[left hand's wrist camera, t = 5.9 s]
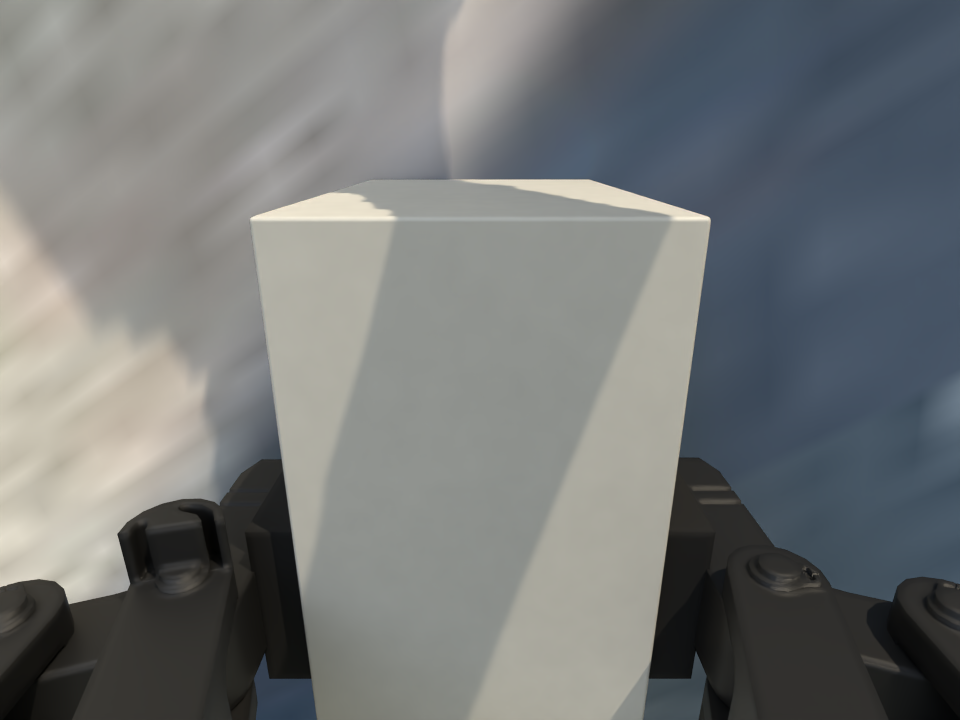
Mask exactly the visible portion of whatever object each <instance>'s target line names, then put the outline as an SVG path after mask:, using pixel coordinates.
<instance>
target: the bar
mask: <svg viewBox="0 0 960 720" xmlns="http://www.w3.org/2000/svg"><path fill="white" fill-rule="evenodd" d="M710 223H711V221H710V218H709V217H707V216H704V215H701V214H698V213H694V212H691V211H688V210H685V209H682V208H678V207H675V206H672V205H669V204H666V203H662V202H659V201H656V200H653V199H649V198H646V197H643V196H640V195H637V194H633V193H630V192H627V191H624V190H621V189H617V188H614V187H611V186H608V185H604V184H601V183H598V182H595V181H592V180H369V181H366V182H363V183H359V184H356V185H353V186H350V187H346V188H343V189H340V190H337V191H333V192H330V193H327V194H324V195H321V196H317V197H314V198H311V199H308V200H304V201H301V202H298V203H295V204H291V205H288V206H285V207H282V208H278V209H275V210H272V211H269V212H266V213H262V214H259V215H256V216H253V217H251V218H250V228H251V236H252V243H253V251H254V258H255V265H256V273H257V280H258V287H259V295H260V302H261V310H262V317H263V324H264V332H265V339H266V346H267V354H268V361H269V369H270V376H271V383H272V391H273V398H274V405H275V413H276V420H277V428H278V435H279V442H280V450H281V457H282V464H283V472H284V479H285V487H286V494H287V501H288V509H289V516H290V524H291V531H292V538H293V546H294V553H295V560H296V568H297V575H298V583H299V590H300V597H301V605H302V612H303V619H304V627H305V634H306V642H307V649H308V656H309V664H310V671H311V678H312V686H313V693H314V701H315V708H316V715H317V720H643V716H644V709H645V702H646V694H647V687H648V679H649V672H650V665H651V657H652V650H653V643H654V635H655V628H656V621H657V613H658V606H659V599H660V591H661V584H662V576H663V569H664V562H665V554H666V547H667V540H668V532H669V525H670V518H671V510H672V503H673V495H674V488H675V481H676V473H677V466H678V459H679V451H680V444H681V437H682V429H683V422H684V415H685V407H686V400H687V392H688V385H689V378H690V370H691V363H692V356H693V348H694V341H695V334H696V326H697V319H698V312H699V304H700V297H701V289H702V282H703V275H704V267H705V260H706V253H707V245H708V238H709V231H710Z"/></svg>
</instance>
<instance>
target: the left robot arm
mask: <svg viewBox="0 0 960 720" xmlns="http://www.w3.org/2000/svg"><path fill="white" fill-rule="evenodd" d="M118 538H119V542H120V546H121V550H122V553H123V557H124V561H125V565H126V569H127V573H128V576H129V580H130V586H129V589H128V591H125V592H121V593H118V594H114V595H110V596H105V597H101V598H96V599H91V600H87V601H82V602H78V603H73V604H68V601H67V597H66V594H65V591H64V589H63V588H62V587H61V586H60V585H59V584H57V583H56V582H54V581H48V580H41V579H37V580H30V581H22V582H17V583H14V584H9V585H7V586H3V587H0V720H256V711H257V695H256V688H255V683H254V677H255V674H256V672H257V670H258V667H259V665H260V663H261V660H262V658H263V656H264V653H265V655H266V661H267V667H268V673H269V679H312V678H311V671H310V664H309V656H308V649H307V642H306V634H305V627H304V619H303V612H302V605H301V597H300V590H299V583H298V575H297V568H296V560H295V553H294V546H293V538H292V531H291V524H290V516H289V509H288V501H287V494H286V487H285V479H284V472H283V464H282V460H260V461H259V462H258V463H256V464H255V465H253V466H252V467H250V468H249V469H247V470H246V471H244V472H243V473H241V475H240V476H239V477H238V479H237V480H236V482H235V483H234V484H233V486H232V487H231V488H230V492H229V493H227V494H226V495H225V497H224V498H223V499H222V501H221V502H220V506H219V505H217V504H216V503H215V502H212V501H208V500H204V499H181V500H177V501H172V502H168V503H164V504H161V505H158V506H156V507H153V508H151V509H149V510H146V511H144V512H142V513H140V514H139V515H137V516H136V517H134V518H133V519H131V520H130V521H128V522H127V523H126V524H125V526H124V527H123V528H122V529H121V530H120V532H119V533H118ZM695 652H697V654H698V656H699V659H700V661H701V663H702V666H703V668H704V670H705V673H706V675H707V677H706V683H705V688H704V694H703V699H702V705H701V710H700V716H699V720H960V584H955V583H954V582H950V581H946V580H943V579H935V578H927V577H917V578H911V579H906V580H905V581H903V582H902V583H901V584H900V585H898V586H897V589H896V593H895V596H894V599H893V602H890V601H885V600H881V599H876V598H871V597H867V596H862V595H858V594H853V593H848V592H845V591H841V590H837V589H834V588H832V587H831V585H830V583H829V582H828V580H827V579H826V577H825V576H824V575H823V573H822V572H821V570H819V569H818V568H817V567H815V566H814V565H813V564H811V563H810V562H809V561H808V560H806V559H805V558H802V557H800V556H798V555H796V554H794V553H792V552H790V551H788V550H784V549H780V548H776V547H774V545H773V544H772V543H771V541H770V540H769V538H768V537H767V536H766V534H765V533H764V532H763V530H762V529H761V528H760V526H759V525H758V523H757V522H756V521H755V519H754V518H753V517H752V515H751V514H750V513H749V511H748V510H747V508H746V507H745V506H744V504H741V500H740V499H739V498H738V496H737V495H736V493H735V492H734V491H731V487H730V485H729V484H728V483H727V481H726V480H725V478H724V477H723V476H722V474H721V473H720V472H719V471H718V470H716V469H715V468H713V467H712V466H710V465H709V464H708V463H706V462H705V461H703V460H702V459H700V458H679V459H678V466H677V473H676V481H675V488H674V495H673V503H672V510H671V518H670V525H669V532H668V540H667V547H666V554H665V562H664V569H663V576H662V584H661V591H660V599H659V606H658V613H657V621H656V628H655V635H654V643H653V650H652V657H651V665H650V672H649V679H691V675H692V669H693V663H694V657H695Z"/></svg>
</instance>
